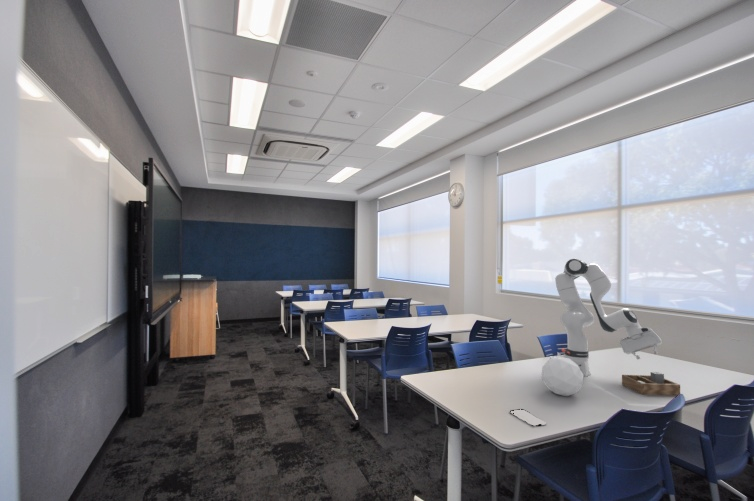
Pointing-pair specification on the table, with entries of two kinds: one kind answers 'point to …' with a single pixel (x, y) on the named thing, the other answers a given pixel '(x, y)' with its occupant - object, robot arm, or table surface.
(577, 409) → the table surface
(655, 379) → the connector
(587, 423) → the table surface
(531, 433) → the table surface
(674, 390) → the parts box
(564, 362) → the geometric polyhedron
